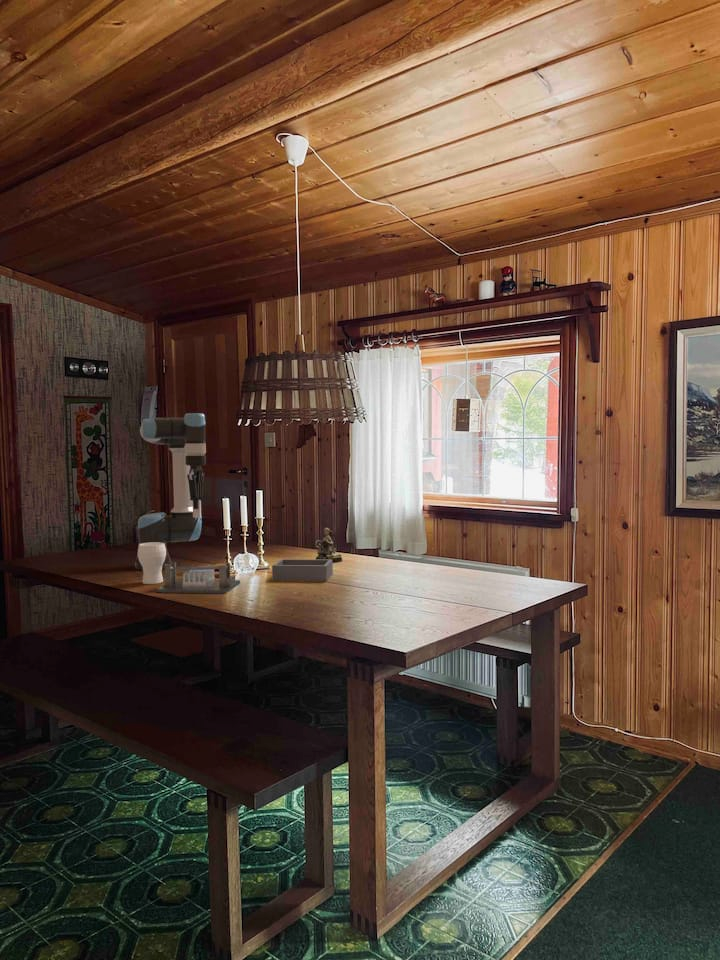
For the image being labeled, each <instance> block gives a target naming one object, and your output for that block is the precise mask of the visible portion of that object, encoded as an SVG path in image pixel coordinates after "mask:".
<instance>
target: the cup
mask: <svg viewBox="0 0 720 960" xmlns="http://www.w3.org/2000/svg"><path fill="white" fill-rule="evenodd" d="M137 548H138V549H137V555H138V559H139V562H140V563H141V565H142V567H143V570H142V572H143V575H142V584H144V585H154V584H161V583H163V582H164V577H163V573H162V571H163V569H162V565H163V563H164V561H165V557H166V548H165V544H164V543H161V542H150V543H142V544H139V543H138V547H137Z"/></svg>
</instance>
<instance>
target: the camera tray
mask: <svg viewBox="0 0 720 960" xmlns="http://www.w3.org/2000/svg"><path fill="white" fill-rule="evenodd" d="M333 564H334V563H333V561H332V560H329V559H316V558H314V559H313V558H312V559H310V558H308V559H307V558H303V559H302V558H301V559H297V558H280V559H279V560H278V561H276V562H275V563H273V564H272V565H271V569H272V570H271V572H272V573H271V575H272V576H271V577H272V579H271V580H272V582H327V581H328V580H330V578H331V577H332V576H333V574H334V573H333V572H334V571H333V570H334V569H333V568H334V567H333V566H334V565H333Z"/></svg>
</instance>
